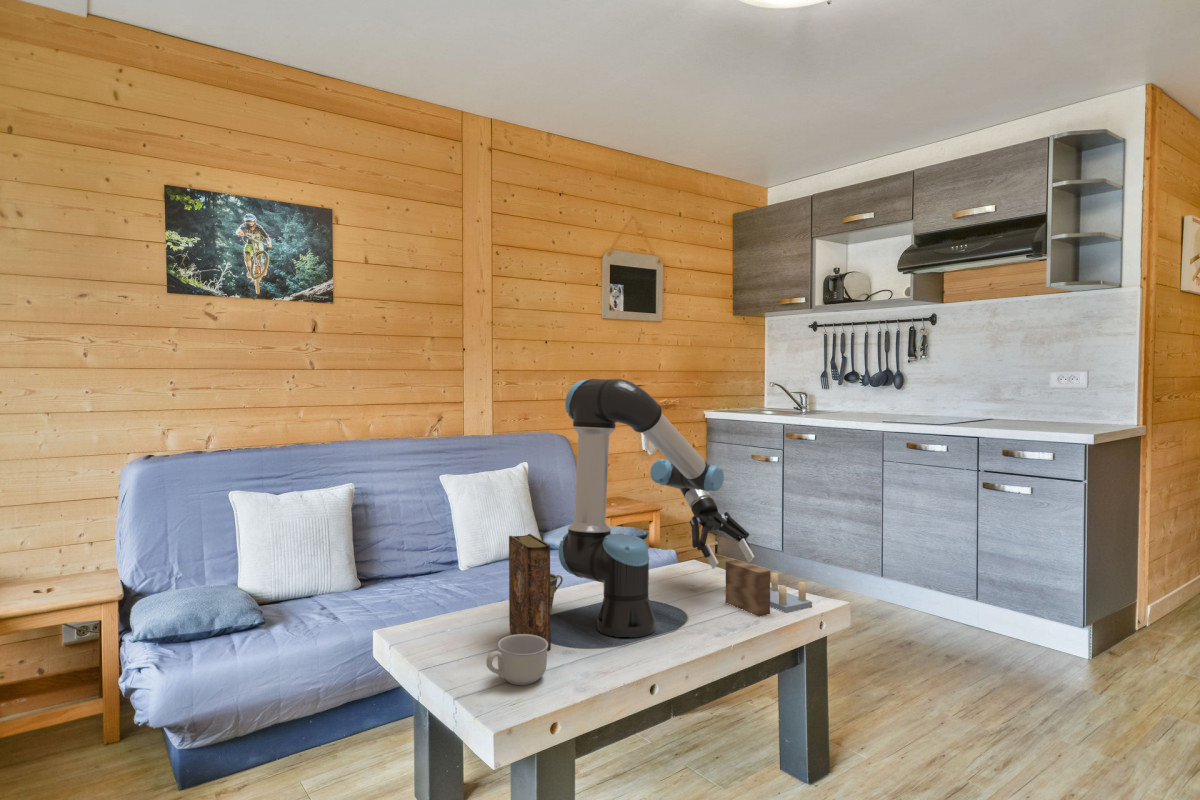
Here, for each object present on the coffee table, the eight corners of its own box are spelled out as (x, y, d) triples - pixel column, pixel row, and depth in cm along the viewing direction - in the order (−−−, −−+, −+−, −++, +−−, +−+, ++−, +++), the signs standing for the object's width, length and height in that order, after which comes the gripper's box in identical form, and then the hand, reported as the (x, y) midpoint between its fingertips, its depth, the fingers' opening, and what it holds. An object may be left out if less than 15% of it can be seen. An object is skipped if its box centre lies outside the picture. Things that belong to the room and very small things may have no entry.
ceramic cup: (535, 621, 184) (535, 584, 184) (514, 612, 192) (514, 576, 192) (573, 611, 193) (573, 575, 192) (551, 603, 200) (551, 568, 200)
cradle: (746, 597, 204) (746, 575, 204) (771, 592, 209) (771, 571, 209) (785, 612, 191) (785, 589, 190) (811, 606, 195) (812, 584, 195)
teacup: (536, 665, 155) (536, 630, 155) (556, 683, 146) (556, 646, 145) (476, 678, 148) (476, 641, 148) (493, 698, 139) (493, 658, 139)
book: (552, 651, 164) (552, 546, 163) (530, 655, 161) (530, 548, 161) (529, 629, 178) (529, 532, 178) (509, 632, 176) (508, 534, 176)
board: (725, 603, 200) (725, 561, 199) (736, 600, 202) (736, 559, 201) (759, 616, 187) (759, 572, 187) (770, 614, 189) (770, 570, 189)
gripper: (726, 506, 222) (759, 563, 210) (663, 514, 210) (694, 575, 197) (738, 492, 218) (772, 550, 205) (673, 499, 205) (705, 561, 193)
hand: (733, 562), depth 201 cm, fingers open, 13 cm apart
